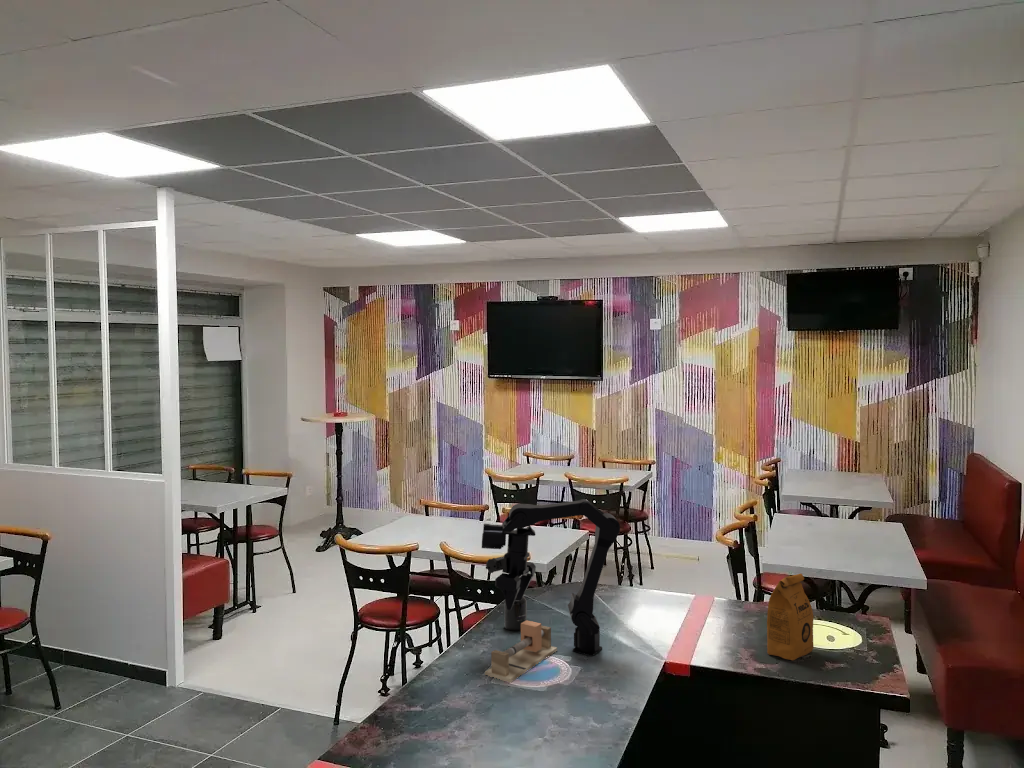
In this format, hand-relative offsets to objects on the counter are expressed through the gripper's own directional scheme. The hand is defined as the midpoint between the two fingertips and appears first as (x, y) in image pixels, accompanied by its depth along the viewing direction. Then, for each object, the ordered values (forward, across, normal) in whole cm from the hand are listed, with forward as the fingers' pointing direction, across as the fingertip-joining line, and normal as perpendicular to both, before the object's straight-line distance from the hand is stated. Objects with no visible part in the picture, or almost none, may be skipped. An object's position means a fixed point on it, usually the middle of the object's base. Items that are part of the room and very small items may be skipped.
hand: (514, 604), depth 207 cm
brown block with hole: (+11, +2, +6) cm, 13 cm away
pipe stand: (+13, +6, +5) cm, 16 cm away
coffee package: (+9, -22, +74) cm, 78 cm away
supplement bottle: (+14, -18, -5) cm, 23 cm away
